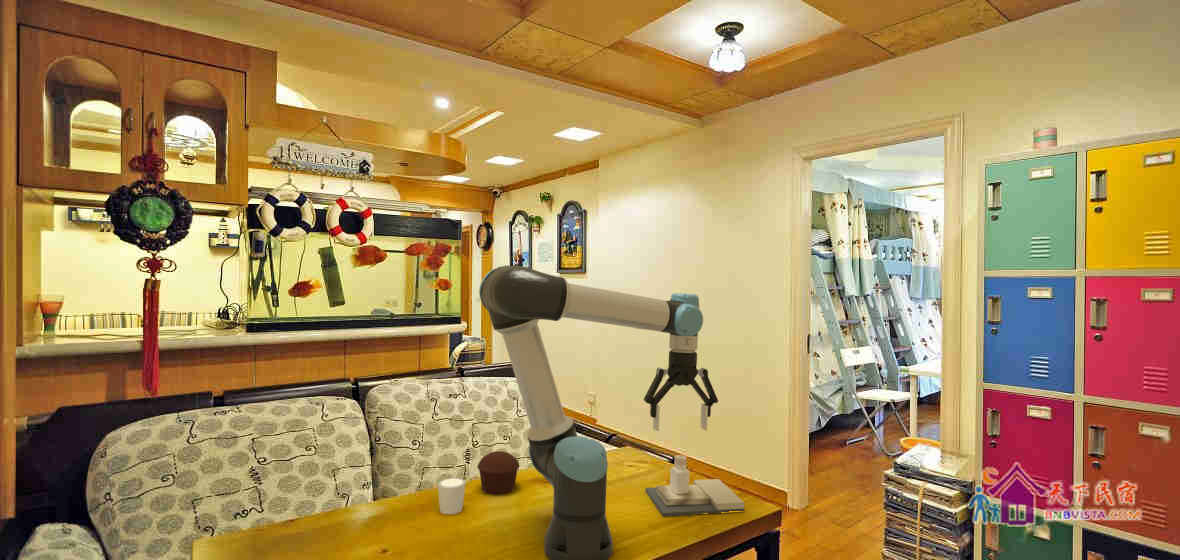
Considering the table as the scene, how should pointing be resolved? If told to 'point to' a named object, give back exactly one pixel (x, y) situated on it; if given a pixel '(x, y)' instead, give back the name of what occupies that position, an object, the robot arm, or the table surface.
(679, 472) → the salt shaker
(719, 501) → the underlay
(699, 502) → the plank
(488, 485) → the muffin
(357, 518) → the table surface
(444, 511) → the white tapered cylinder
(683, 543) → the table surface
